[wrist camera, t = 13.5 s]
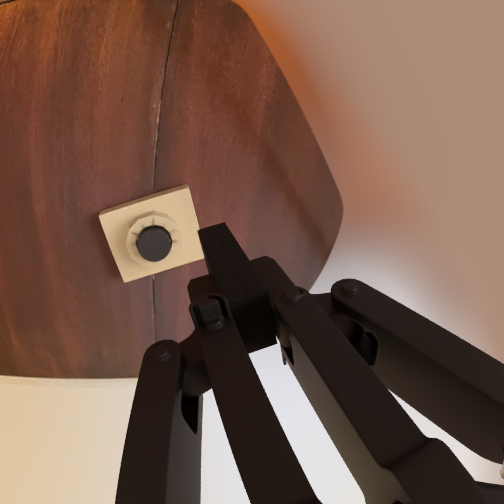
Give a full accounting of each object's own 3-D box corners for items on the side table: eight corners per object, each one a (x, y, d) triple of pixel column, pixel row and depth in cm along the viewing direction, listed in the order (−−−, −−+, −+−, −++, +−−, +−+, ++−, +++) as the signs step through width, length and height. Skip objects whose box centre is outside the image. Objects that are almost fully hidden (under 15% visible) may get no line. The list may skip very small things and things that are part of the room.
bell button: (164, 222, 36) (165, 226, 35) (173, 250, 38) (174, 256, 37) (133, 231, 36) (133, 236, 34) (144, 260, 38) (143, 266, 36)
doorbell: (186, 183, 39) (190, 190, 35) (204, 250, 44) (209, 263, 40) (100, 210, 37) (95, 220, 33) (125, 275, 41) (123, 289, 38)
